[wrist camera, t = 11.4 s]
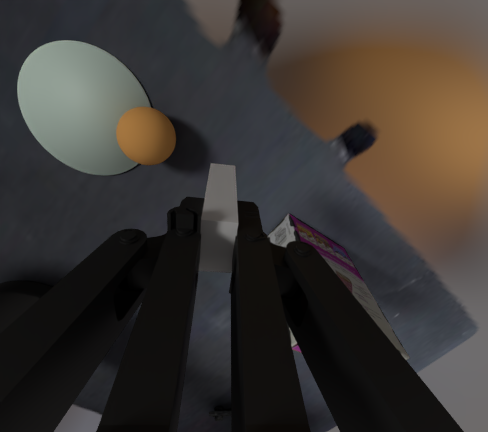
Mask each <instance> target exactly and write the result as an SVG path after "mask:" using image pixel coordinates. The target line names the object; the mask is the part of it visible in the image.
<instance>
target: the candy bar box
mask: <svg viewBox="0 0 488 432" xmlns="http://www.w3.org/2000/svg"><path fill="white" fill-rule="evenodd" d="M268 239H269V241H270V242H271V243H273V244H276V245H279V246H282V247H286V246H287V244H288V243H289V242H292V241H303V242H306V243H308V244H310V245H312V246H313V247H314V248H315V249H316V250H317V251H318V252H319V253H320V255H321V256H322V257H323V258H324V259H325V261H326V262H327V263H328V264H329V266H330V267H331V268H332V269H333V271H334V272H335V273H336V274H337V276H338V277H339V278H340V279H341V281H342V282H343V283H344V284H345V285H346V287H347V288H348V289H349V290H350V292H351V293H352V294H353V295H354V297H355V298H356V299H357V300H358V302H359V303H360V304H361V305H362V306H363V308H364V309H365V310H366V311H367V313H368V314H369V315H370V316H371V318H372V319H373V320H374V321H375V323H376V324H377V325H378V326H379V328H380V329H381V330H382V331H383V332H384V334H385V335H386V336H387V337H388V339H389V340H390V341H391V342H392V344H393V345H394V346H395V347H396V349H397V350H398V351H399V352H400V353H401V355H402V356H403V357H404V358H405V360H408V359H409V358H410V357H409V356H408V354H407V353H406V351H405V349H404V348H403V346H402V344H401V343H400V341H399V339H398V338H397V336H396V335H395V333H394V331H393V329H392V328H391V326H390V324H389V323H388V321H387V319H386V317H385V316H384V314H383V312H382V311H381V309H380V307H379V306H378V304H377V302H376V301H375V299H374V297H373V296H372V294H371V292H370V291H369V289H368V287H367V286H366V284H365V282H364V281H363V279H362V277H361V276H360V274H359V272H358V270H357V269H356V267H355V265H354V264H353V262H352V261H351V259H350V257H349V256H348V254H347V252H346V250H345V249H344V248H343V247H341V246H340V245H338V244H336V243H335V242H333V241H332V240H330V239H328V238H327V237H325V236H324V235H322V234H320V233H319V232H317V231H316V230H314V229H313V228H311V227H309V226H308V225H306V224H305V223H303V222H301V221H300V220H298V219H297V218H295V217H294V216H292V215H290V214H288V215H287V216H286V217H285V218H284V219H283V220H282V221H281V222H280V223H279V224H278V226H276V228H275V229H274V230H273V231H272V232H271V233H270V234H269V235H268ZM286 323H287V321H286ZM287 327H288V332H289V336H290V341H291V346H292V349H293V350H295V351H298V352H301V350H300V348H299V346H298V344H297V342H296V340H295V338H294V336H293V334H292V332H291V330H290V328H289V326H288V324H287ZM301 353H302V352H301Z"/></svg>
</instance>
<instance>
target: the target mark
mask: <svg viewBox="0 0 488 432" xmlns="http://www.w3.org/2000/svg"><path fill="white" fill-rule="evenodd" d="M17 92H18V101H19V105H20V109H21V112H22V115H23V117H24V119H25V121H26V124H27V126H28V127H29V129H30V130H31V132H32V134H33V135H34V136H35V138H36V139H37V140H38V142H39V143H40V144H41V145H42V146H43V147H44V148H45V149H46V150H47V151H48V152H49V153H50V154H52V155H53V156H54V157H55V158H57V159H58V160H60V161H61V162H63V163H64V164H66V165H68V166H70V167H72V168H74V169H76V170H79V171H82V172H85V173H89V174H94V175H115V174H120V173H123V172H126V171H128V170H130V169H132V168H133V167H135V166H136V165H137V164H138V163H137V162H134V161H133V160H131V159H130V158H128V157H127V156H126V155H125V154H124V153H123V151H122V150H121V148H120V146H119V144H118V141H117V136H116V129H117V125H118V122H119V120H120V118H121V117H122V116H123V115H124V114H125V113H126V112H127V111H129V110H130V109H133V108H136V107H150V108H151V105H150V102H149V100H148V97H147V95H146V93H145V91H144V89H143V88H142V86H141V84H140V83H139V81H138V80H137V79H136V77H135V76H134V75H133V73H132V72H131V71H130V70H129V69H128V68H127V67H126V66H125V65H124V64H123V63H121V62H120V61H119V60H118V59H117V58H115V57H114V56H112V55H111V54H109V53H108V52H106V51H104V50H102V49H100V48H98V47H96V46H93V45H90V44H88V43H83V42H79V41H69V40H63V41H55V42H51V43H47V44H45V45H43V46H41V47H39V48H38V49H36V50H35V51H33V52H32V53H31V54H30V55H29V56H28V57H27V59H26V60H25V62H24V64H23V65H22V68H21V70H20V73H19V78H18V87H17Z"/></svg>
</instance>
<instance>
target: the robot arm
mask: <svg viewBox="0 0 488 432" xmlns="http://www.w3.org/2000/svg"><path fill="white" fill-rule="evenodd" d="M167 222H168V231H167V233H166V234H164V235H161V236H157V237H150V238H147V235H146V234H145V233H144V232H143V231H141V230H138V229H124V230H121V231H118V232H116V233H115V234H113V235H112V236H111V237H109V238H108V239H107V240H106V241H105V242H104V243H103V244H101V245H100V246H99V247H98V248H97V249H96V250H95V251H93V252H92V253H91V254H90V255H89V256H88V257H87V258H85V259H84V260H83V261H82V262H81V263H80V264H79V265H77V266H76V267H75V268H74V269H73V270H72V271H71V272H70V273H68V274H67V275H66V276H65V277H64V278H63V279H62V280H60V281H59V282H58V283H57V284H56V285H55V286H54V287H50V286H47V285H44V284H40V283H35V282H29V281H10V282H4V283H0V432H54V430H55V429H56V427H57V426H58V424H59V423H60V421H61V420H62V418H63V417H64V415H65V414H66V413H67V411H68V410H69V408H70V407H71V405H72V404H73V402H74V401H75V399H76V398H77V396H78V395H79V393H80V392H81V391H82V389H83V388H84V386H85V385H86V383H87V382H88V380H89V379H90V377H91V376H92V374H93V373H94V371H95V370H96V369H97V367H98V366H99V364H100V363H101V361H102V360H103V358H104V357H105V355H106V354H107V352H108V351H109V349H110V348H111V346H112V345H113V344H114V342H115V341H116V339H117V338H118V336H119V335H120V333H121V332H122V330H123V329H124V327H125V326H126V324H127V323H128V322H129V320H130V319H131V317H132V316H133V314H134V313H135V311H136V310H137V308H138V307H139V305H140V304H141V302H142V301H143V302H142V305H141V307H140V310H139V313H138V316H137V319H136V322H135V324H134V327H133V330H132V333H131V336H130V339H129V341H128V344H127V347H126V350H125V353H124V356H123V358H122V361H121V364H120V367H119V370H118V373H117V375H116V378H115V381H114V384H113V387H112V390H111V392H110V395H109V398H108V401H107V404H106V407H105V409H104V412H103V415H102V418H101V421H100V424H99V426H98V429H97V431H96V432H177V428H178V420H179V413H180V406H181V399H182V391H183V384H184V377H185V369H186V362H187V355H188V348H189V340H190V333H191V326H192V318H193V311H194V304H195V296H196V289H197V282H198V271H210V272H226V273H231V271H232V276H231V283H230V290H229V293H231V427H232V432H310V428H309V424H308V420H307V415H306V411H305V406H304V401H303V397H302V392H301V387H300V383H299V378H298V374H297V369H296V364H295V360H294V355H293V350H292V346H291V341H290V336H289V332H288V327H287V324H288V326H289V328H290V330H291V332H292V334H293V336H294V338H295V340H296V342H297V344H298V346H299V348H300V350H301V352H302V354H303V356H304V358H305V361H306V363H307V365H308V367H309V369H310V371H311V373H312V375H313V377H314V379H315V381H316V383H317V385H318V387H319V389H320V391H321V393H322V395H323V398H324V400H325V402H326V404H327V406H328V408H329V410H330V412H331V414H332V416H333V418H334V420H335V422H336V424H337V426H338V428H339V430H340V432H464V431H463V430H462V429H461V428H460V426H459V425H458V424H457V423H456V422H455V420H454V419H453V418H452V417H451V415H450V414H449V413H448V412H447V410H446V409H445V408H444V407H443V405H442V404H441V403H440V402H439V401H438V399H437V398H436V397H435V396H434V394H433V393H432V392H431V391H430V389H429V388H428V387H427V386H426V384H425V383H424V382H423V381H422V380H421V378H420V377H419V376H418V375H417V373H416V372H415V371H414V370H413V368H412V367H411V366H410V365H409V363H408V362H407V361H406V360H405V358H404V357H403V356H402V355H401V353H400V352H399V351H398V350H397V349H396V347H395V346H394V345H393V344H392V342H391V341H390V340H389V339H388V337H387V336H386V335H385V334H384V332H383V331H382V330H381V329H380V328H379V326H378V325H377V324H376V323H375V321H374V320H373V319H372V318H371V316H370V315H369V314H368V313H367V311H366V310H365V309H364V308H363V306H362V305H361V304H360V303H359V302H358V300H357V299H356V298H355V297H354V295H353V294H352V293H351V292H350V290H349V289H348V288H347V287H346V285H345V284H344V283H343V282H342V281H341V279H340V278H339V277H338V276H337V274H336V273H335V272H334V271H333V269H332V268H331V267H330V266H329V264H328V263H327V262H326V261H325V259H324V258H323V257H322V256H321V255H320V253H319V252H318V251H317V250H316V249H315V248H314V247H313V246H312V245H310V244H308V243H306V242H303V241H292V242H289V243H288V244H287V246H286V247H282V246H279V245H276V244H273V243H271V242H270V241H269V239H268V237H267V235H266V234H265V233H264V232H263V230H262V225H261V220H260V215H259V210H258V207H257V206H256V205H255V203H254V202H246V201H237V191H236V173H235V166H231V165H222V164H213V163H211V165H210V171H209V177H208V183H207V188H206V194H205V198H196V197H186V198H185V199H183V200H182V201H181V204H180V206H179V207H175V208H173V209H171V210H169V211H168V213H167ZM286 321H287V323H286Z"/></svg>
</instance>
